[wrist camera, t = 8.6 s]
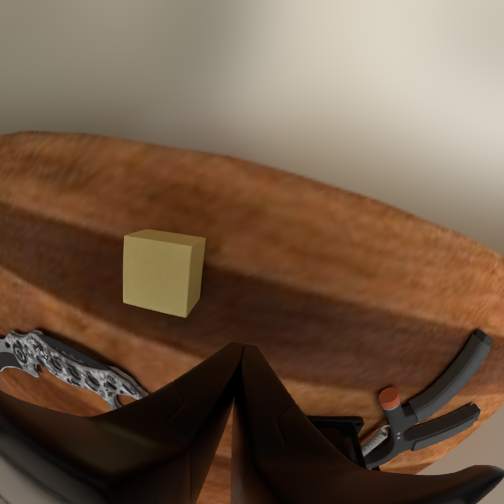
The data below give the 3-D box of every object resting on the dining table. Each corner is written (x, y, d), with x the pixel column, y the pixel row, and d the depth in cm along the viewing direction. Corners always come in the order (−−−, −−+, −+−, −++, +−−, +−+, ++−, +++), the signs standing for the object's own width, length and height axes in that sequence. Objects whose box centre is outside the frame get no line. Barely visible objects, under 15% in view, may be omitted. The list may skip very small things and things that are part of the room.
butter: (206, 237, 16) (191, 246, 13) (199, 298, 17) (186, 318, 14) (147, 228, 16) (123, 235, 14) (144, 287, 17) (122, 303, 14)
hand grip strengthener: (498, 331, 14) (336, 411, 16) (479, 422, 16) (353, 481, 18) (484, 321, 16) (331, 392, 18) (470, 411, 18) (350, 466, 20)
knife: (-2, 374, 21) (-29, 310, 18) (3, 369, 22) (-21, 306, 20) (171, 443, 19) (145, 363, 17) (175, 431, 21) (153, 351, 18)
